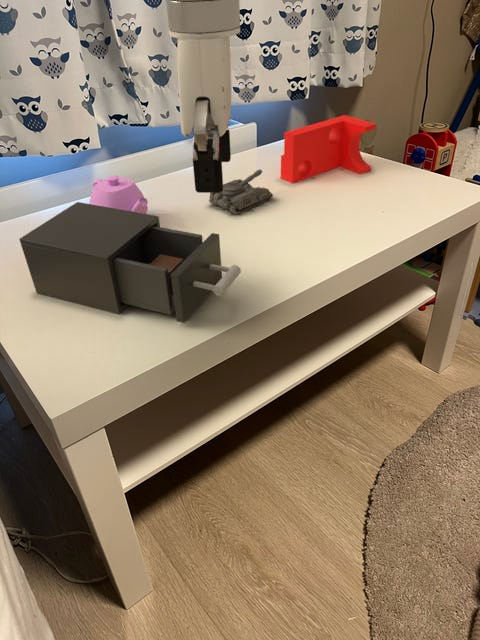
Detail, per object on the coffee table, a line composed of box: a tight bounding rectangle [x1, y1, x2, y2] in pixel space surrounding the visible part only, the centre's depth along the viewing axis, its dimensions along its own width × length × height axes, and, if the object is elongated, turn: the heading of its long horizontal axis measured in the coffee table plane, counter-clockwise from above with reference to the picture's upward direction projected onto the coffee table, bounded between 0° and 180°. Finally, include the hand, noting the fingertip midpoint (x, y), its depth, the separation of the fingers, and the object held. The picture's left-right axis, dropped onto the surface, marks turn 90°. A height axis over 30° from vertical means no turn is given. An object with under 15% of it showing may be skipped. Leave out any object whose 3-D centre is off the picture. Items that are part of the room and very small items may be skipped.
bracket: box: [280, 114, 377, 184], centre depth 114 cm, size 18×10×10 cm
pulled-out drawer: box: [112, 226, 242, 324], centre depth 77 cm, size 19×12×8 cm, turn 66°
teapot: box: [88, 175, 149, 214], centre depth 97 cm, size 10×15×9 cm
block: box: [149, 254, 184, 295], centre depth 78 cm, size 4×4×4 cm
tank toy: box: [208, 169, 274, 215], centre depth 105 cm, size 12×10×5 cm
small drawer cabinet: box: [19, 201, 161, 315], centre depth 82 cm, size 16×14×10 cm
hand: (214, 175), depth 65 cm, fingers open, 9 cm apart
